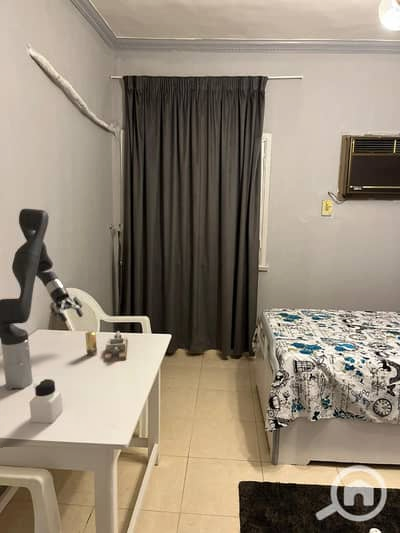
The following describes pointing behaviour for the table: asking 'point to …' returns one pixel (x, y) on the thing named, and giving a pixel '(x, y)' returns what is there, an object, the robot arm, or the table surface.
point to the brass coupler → (91, 343)
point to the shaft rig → (116, 348)
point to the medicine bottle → (45, 402)
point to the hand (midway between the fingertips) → (73, 318)
